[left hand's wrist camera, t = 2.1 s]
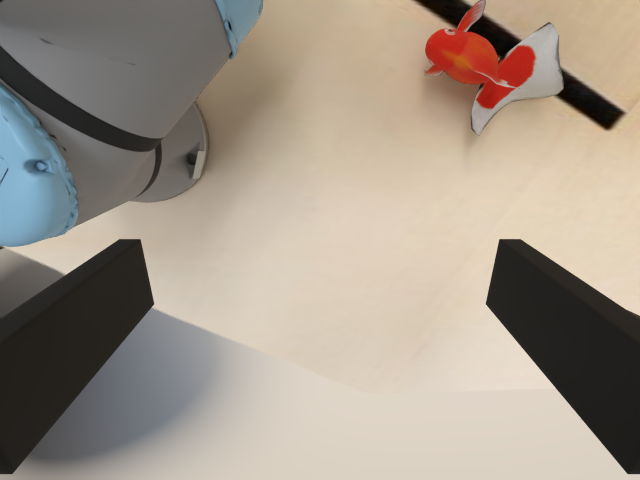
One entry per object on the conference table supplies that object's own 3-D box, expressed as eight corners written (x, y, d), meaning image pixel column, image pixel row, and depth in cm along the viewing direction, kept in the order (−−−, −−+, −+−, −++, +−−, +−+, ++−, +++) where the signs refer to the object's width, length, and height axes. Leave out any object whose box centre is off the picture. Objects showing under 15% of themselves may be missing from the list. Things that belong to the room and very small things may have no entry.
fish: (485, -65, 30) (547, -31, 23) (552, 47, 38) (610, 93, 32) (393, 42, 36) (424, 91, 29) (470, 118, 44) (505, 167, 38)
